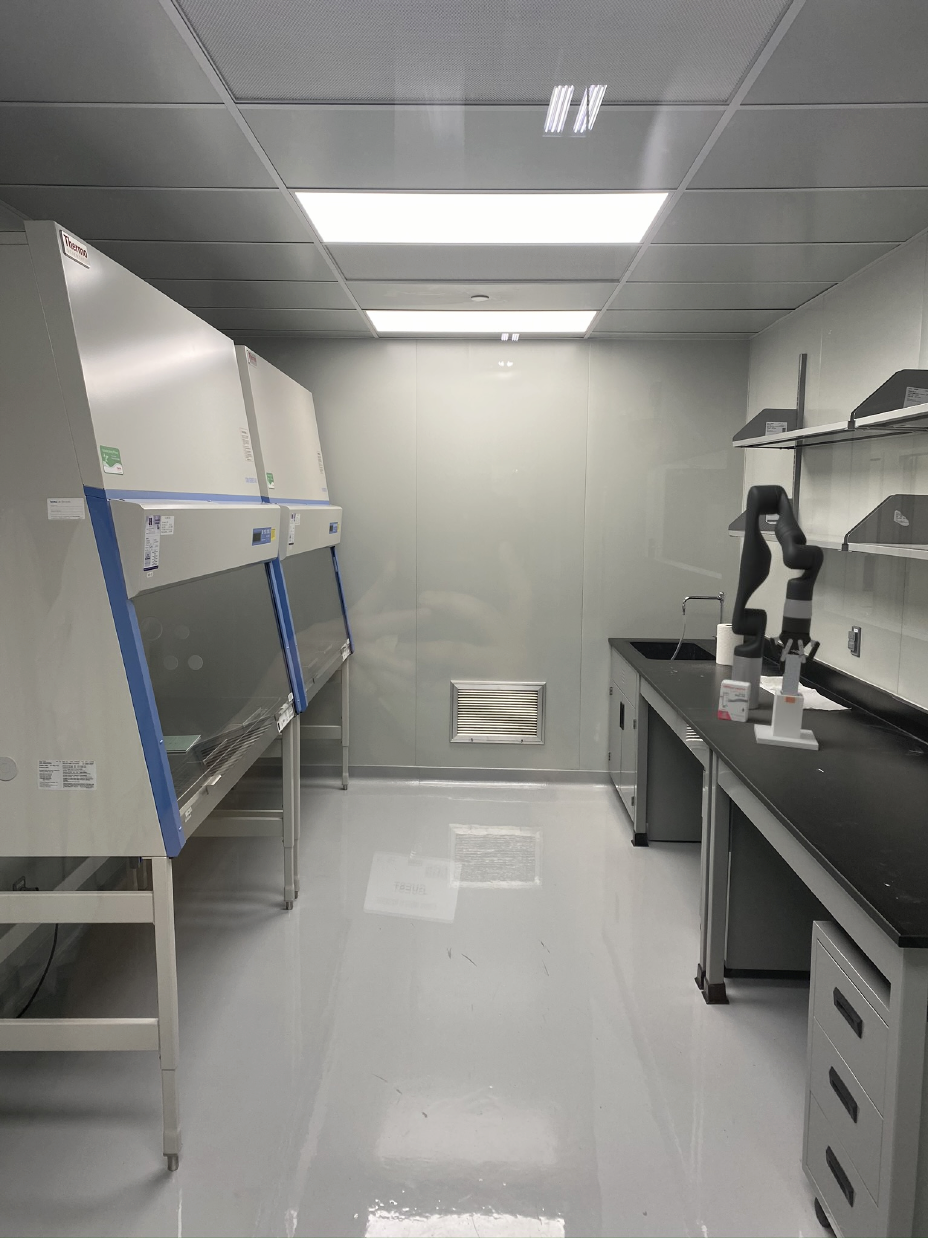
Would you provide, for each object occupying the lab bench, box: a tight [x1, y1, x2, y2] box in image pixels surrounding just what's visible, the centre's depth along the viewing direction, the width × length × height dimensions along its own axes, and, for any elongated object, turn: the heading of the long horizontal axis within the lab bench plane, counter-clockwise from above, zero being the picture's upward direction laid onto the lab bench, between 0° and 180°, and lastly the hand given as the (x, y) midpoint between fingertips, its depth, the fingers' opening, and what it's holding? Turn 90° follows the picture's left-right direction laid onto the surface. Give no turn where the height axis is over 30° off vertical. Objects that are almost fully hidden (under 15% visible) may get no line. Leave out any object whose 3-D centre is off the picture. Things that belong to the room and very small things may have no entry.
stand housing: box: [753, 689, 819, 751], centre depth 234 cm, size 16×16×14 cm
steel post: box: [780, 653, 801, 696], centre depth 233 cm, size 4×4×22 cm
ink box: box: [717, 679, 751, 723], centre depth 256 cm, size 9×5×12 cm, turn 62°
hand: (791, 674), depth 233 cm, fingers closed on steel post, 4 cm apart
